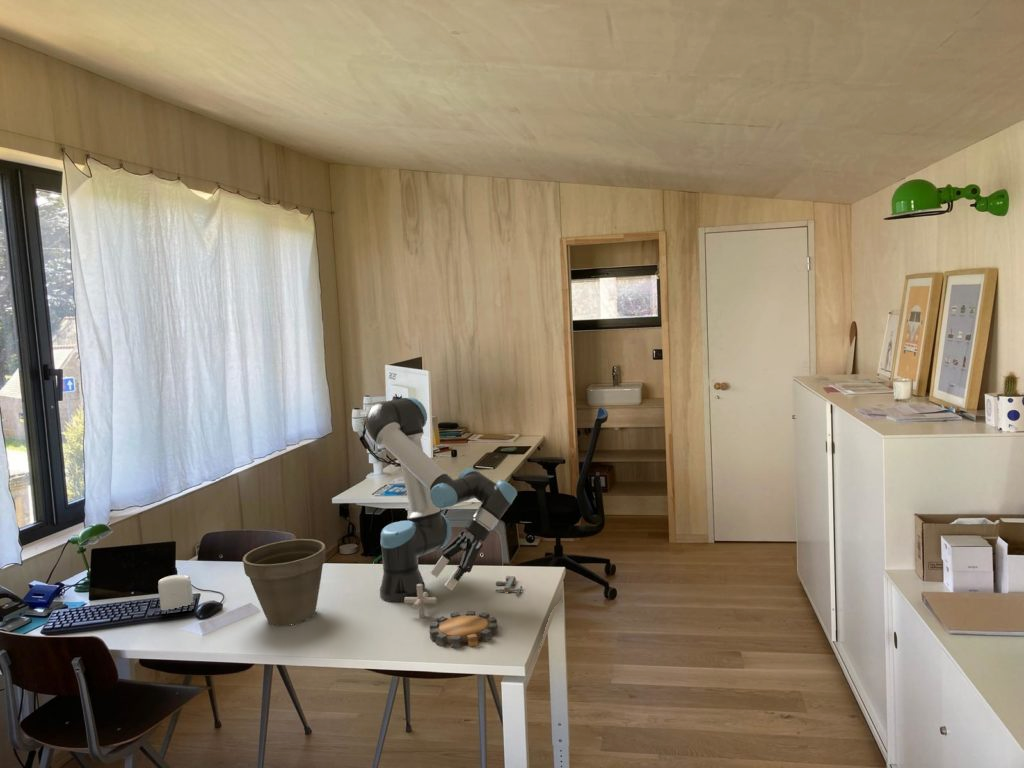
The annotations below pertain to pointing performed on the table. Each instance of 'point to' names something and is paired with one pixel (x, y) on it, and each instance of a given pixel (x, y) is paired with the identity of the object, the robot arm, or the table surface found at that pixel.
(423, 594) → the pipe connector
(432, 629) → the sprocket wheel
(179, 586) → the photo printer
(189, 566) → the table surface
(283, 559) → the plant pot
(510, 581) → the clamp
